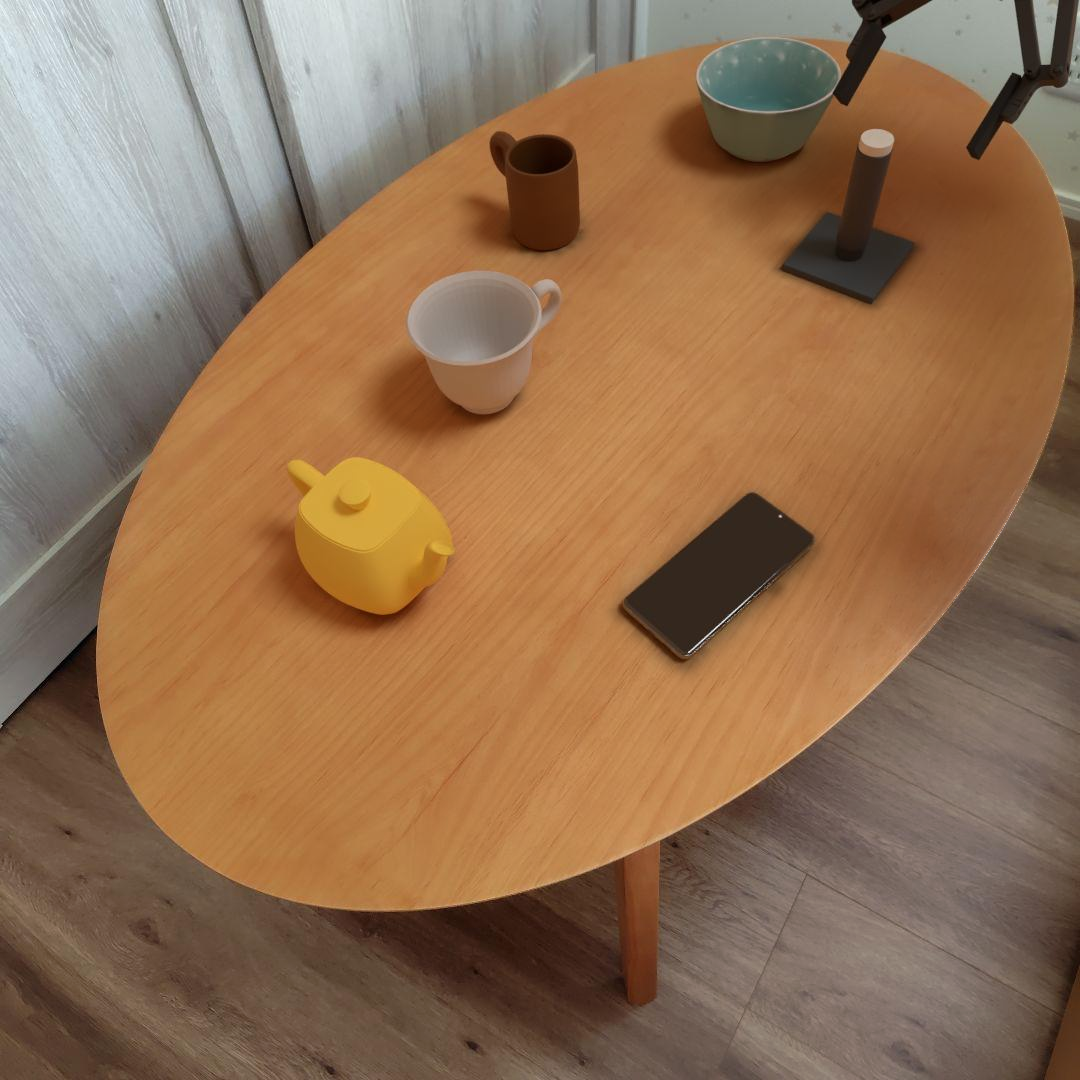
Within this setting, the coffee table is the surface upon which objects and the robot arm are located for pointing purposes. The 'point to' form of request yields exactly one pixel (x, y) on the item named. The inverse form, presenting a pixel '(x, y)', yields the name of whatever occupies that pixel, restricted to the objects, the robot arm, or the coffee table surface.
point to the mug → (539, 188)
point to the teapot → (368, 534)
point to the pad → (848, 277)
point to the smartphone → (718, 574)
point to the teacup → (480, 335)
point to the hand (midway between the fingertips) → (903, 126)
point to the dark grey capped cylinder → (863, 193)
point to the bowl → (766, 95)
